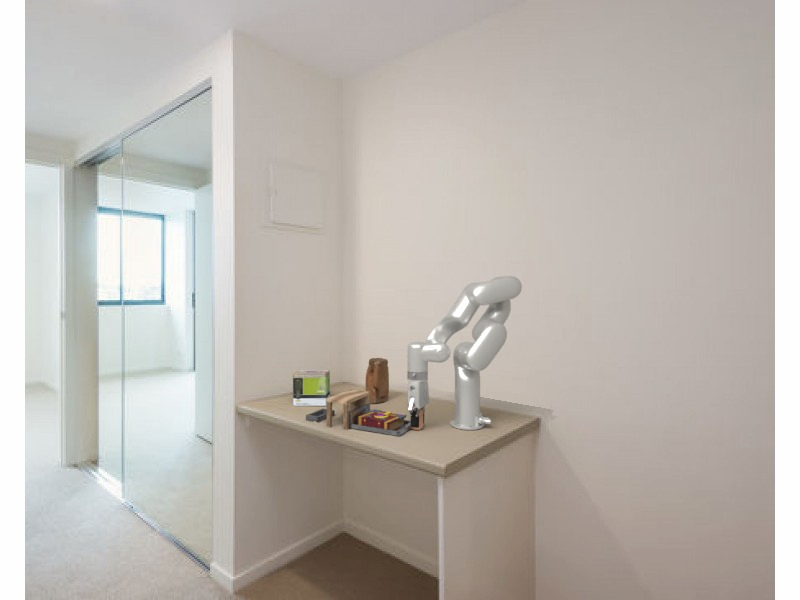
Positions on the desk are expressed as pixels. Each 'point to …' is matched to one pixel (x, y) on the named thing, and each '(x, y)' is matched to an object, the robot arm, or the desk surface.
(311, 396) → the tea box
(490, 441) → the desk surface
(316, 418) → the gray frame
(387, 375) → the block
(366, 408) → the tray
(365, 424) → the decorative book
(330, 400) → the wooden arch stand
